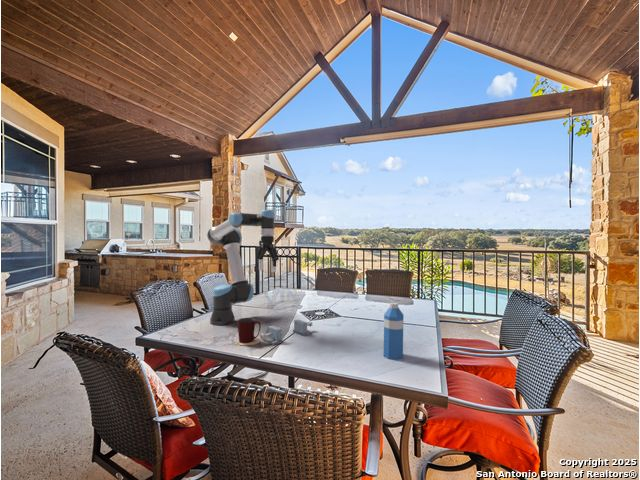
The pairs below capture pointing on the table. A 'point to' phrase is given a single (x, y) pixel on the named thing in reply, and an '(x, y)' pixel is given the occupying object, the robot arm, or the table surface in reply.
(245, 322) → the mug
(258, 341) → the coaster
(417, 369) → the table surface
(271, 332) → the vise
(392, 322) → the water bottle
